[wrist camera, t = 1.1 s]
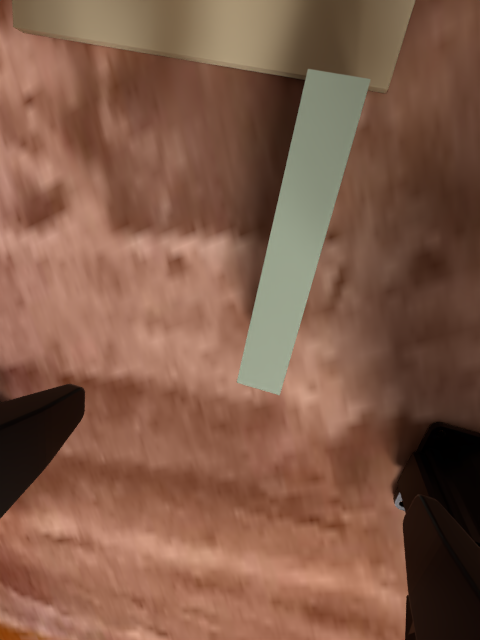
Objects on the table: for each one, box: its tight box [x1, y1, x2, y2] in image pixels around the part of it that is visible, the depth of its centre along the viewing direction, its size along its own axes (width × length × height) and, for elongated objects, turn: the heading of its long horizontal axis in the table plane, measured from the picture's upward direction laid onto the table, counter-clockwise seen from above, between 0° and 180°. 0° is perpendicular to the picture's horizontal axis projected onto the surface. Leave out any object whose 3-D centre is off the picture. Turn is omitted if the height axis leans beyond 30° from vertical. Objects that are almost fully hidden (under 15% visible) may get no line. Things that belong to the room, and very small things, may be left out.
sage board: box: [237, 69, 371, 395], centre depth 15 cm, size 2×12×5 cm, turn 169°
